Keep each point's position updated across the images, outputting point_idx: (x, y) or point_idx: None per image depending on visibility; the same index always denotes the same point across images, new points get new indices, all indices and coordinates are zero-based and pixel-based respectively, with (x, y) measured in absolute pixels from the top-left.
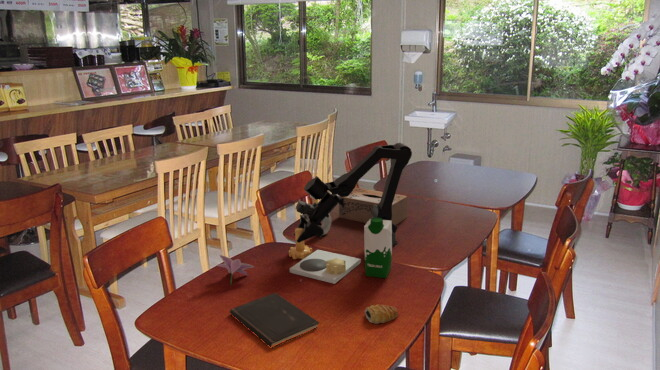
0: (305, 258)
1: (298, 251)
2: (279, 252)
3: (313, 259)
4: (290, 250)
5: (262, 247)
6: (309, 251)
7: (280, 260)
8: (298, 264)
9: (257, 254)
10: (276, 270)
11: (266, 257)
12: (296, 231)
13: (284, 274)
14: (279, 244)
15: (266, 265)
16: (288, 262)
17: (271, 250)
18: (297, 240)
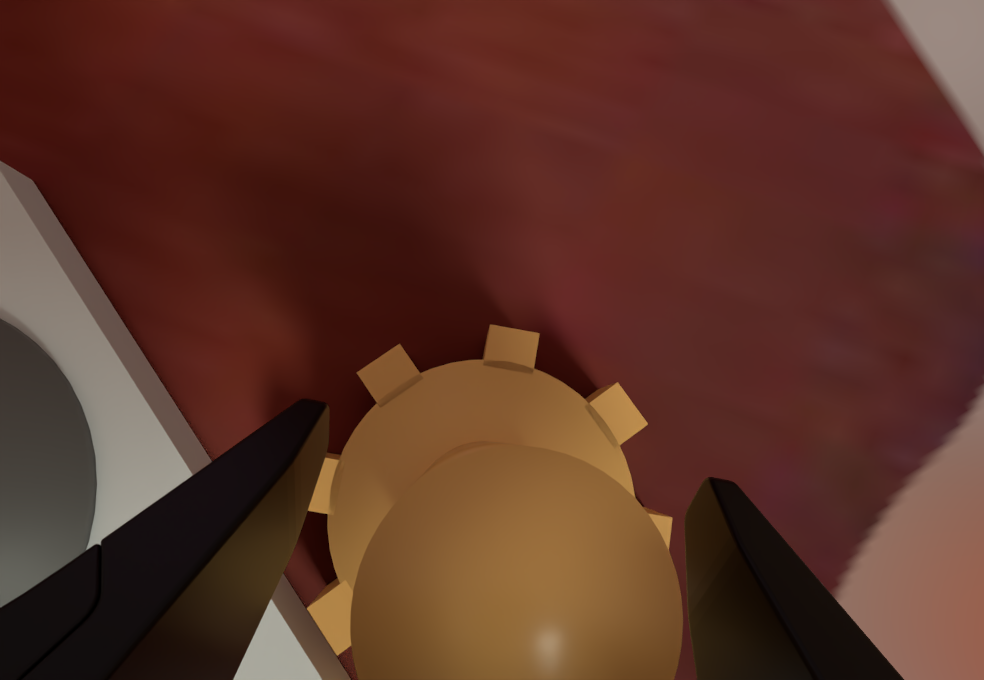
0: (177, 478)
1: (430, 457)
2: (681, 268)
3: (36, 574)
4: (526, 357)
5: (921, 131)
6: (341, 626)
7: (436, 198)
8: (37, 308)
9: (736, 17)
10: (184, 64)
11: (604, 80)
12: (443, 464)
13: (23, 108)
14: (938, 355)
15: (381, 10)
16: (326, 267)
17: (785, 199)
18: (288, 414)
